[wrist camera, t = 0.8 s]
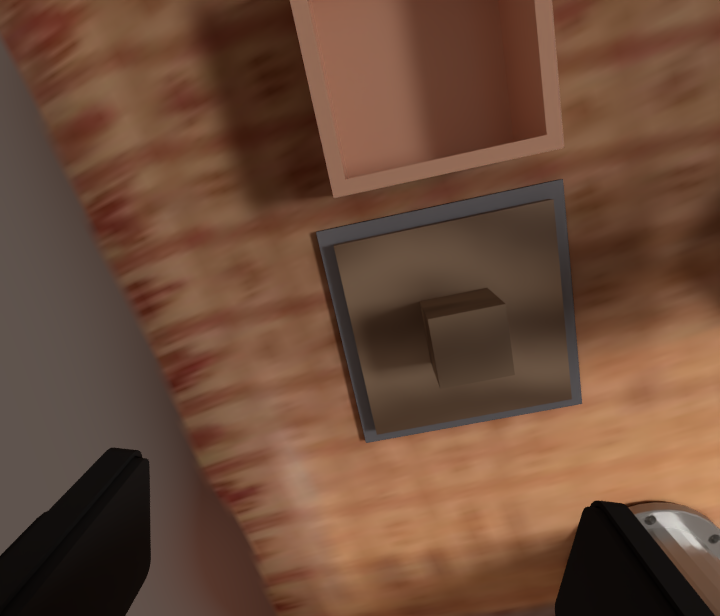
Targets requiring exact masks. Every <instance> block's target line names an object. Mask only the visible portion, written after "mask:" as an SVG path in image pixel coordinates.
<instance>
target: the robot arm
mask: <svg viewBox="0 0 720 616" xmlns="http://www.w3.org/2000/svg"><path fill="white" fill-rule="evenodd" d="M150 550H151V548H150V475H149V461H148V459H145V458H142V454H141V452H140V451H138V450H129V449H120V448H110V449H108V450H107V451H106V452H105V453H104V454H103V455H102V456H101V457H100V458H99V459H98V460H97V461H96V462H95V463H94V464H93V465H92V466H91V467H90V468H89V470H88V471H86V473H85V474H84V475H83V476H82V477H81V478H80V479H79V480H78V481H77V482H76V483H75V484H74V485H73V486H72V487H71V488H70V489H69V490H68V491H67V492H66V493H65V494H64V495H63V496H62V497H61V498H60V499H59V500H58V501H57V502H56V503H55V504H54V505H53V507H52V508H51V509H50V510H49V511H47V512H45V513H43V514H42V515H41V516H39V517H38V518H37V519H36V520H35V521H34V522H33V523H32V524H31V525H30V526H29V527H28V528H27V529H26V530H25V531H24V532H23V533H22V534H21V535H20V536H19V537H18V538H17V539H16V540H15V541H14V542H13V543H12V544H11V545H10V547H9V548H7V549H6V550H5V552H4V553H3V554H2V555H1V556H0V616H125V615H126V613H127V612H128V610H129V608H130V606H131V604H132V603H133V601H134V599H135V597H136V596H137V594H138V592H139V590H140V588H141V587H142V585H143V583H144V581H145V579H146V577H147V574H148V571H149V567H150V560H151V551H150ZM555 615H556V616H720V529H719V528H718V527H717V526H716V525H715V524H714V523H713V522H712V521H710V520H709V519H708V518H707V517H706V516H704V515H703V514H701V513H700V512H698V511H696V510H694V509H691V508H689V507H686V506H683V505H678V504H673V503H659V502H653V503H645V504H638V505H635V506H631V507H627V506H626V505H625V504H622V503H615V502H606V501H594V502H593V503H592V504H591V506H590V507H586V508H584V510H583V512H582V515H581V519H580V522H579V525H578V529H577V532H576V535H575V539H574V542H573V546H572V549H571V552H570V556H569V559H568V562H567V566H566V569H565V572H564V576H563V579H562V582H561V586H560V589H559V593H558V596H557V599H556V603H555Z"/></svg>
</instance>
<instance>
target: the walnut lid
mask: <svg viewBox="0 0 720 616" xmlns="http://www.w3.org/2000/svg"><path fill="white" fill-rule="evenodd" d="M334 250H335V254H336V258H337V263H338V267H339V272H340V276H341V280H342V285H343V289H344V293H345V298H346V302H347V307H348V311H349V315H350V320H351V324H352V328H353V333H354V337H355V341H356V346H357V350H358V355H359V359H360V363H361V368H362V372H363V376H364V381H365V385H366V389H367V394H368V398H369V403H370V407H371V411H372V416H373V420H374V424H375V429H376V433H377V435H379V434H384V433H390V432H395V431H401V430H406V429H412V428H417V427H423V426H428V425H434V424H439V423H445V422H450V421H456V420H461V419H467V418H472V417H478V416H483V415H488V414H494V413H499V412H505V411H510V410H516V409H521V408H527V407H532V406H538V405H543V404H549V403H554V402H560V401H565V400H571V399H572V395H571V384H570V373H569V362H568V351H567V340H566V329H565V319H564V308H563V297H562V286H561V275H560V264H559V253H558V242H557V232H556V221H555V210H554V199H545V200H540V201H535V202H531V203H526V204H521V205H517V206H512V207H507V208H502V209H498V210H493V211H488V212H484V213H479V214H474V215H469V216H465V217H460V218H455V219H451V220H446V221H441V222H436V223H432V224H427V225H422V226H418V227H413V228H408V229H404V230H399V231H394V232H389V233H385V234H380V235H375V236H371V237H366V238H361V239H356V240H352V241H347V242H342V243H338V244H334Z"/></svg>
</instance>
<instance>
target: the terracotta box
mask: <svg viewBox="0 0 720 616" xmlns="http://www.w3.org/2000/svg"><path fill="white" fill-rule="evenodd" d="M290 4H291V8H292V13H293V17H294V22H295V26H296V31H297V35H298V40H299V44H300V49H301V53H302V58H303V62H304V67H305V71H306V76H307V80H308V85H309V89H310V94H311V98H312V103H313V107H314V112H315V116H316V121H317V125H318V130H319V134H320V139H321V143H322V148H323V152H324V157H325V161H326V166H327V170H328V175H329V179H330V184H331V188H332V193H333V197H334V198H337V197H342V196H346V195H351V194H356V193H360V192H365V191H369V190H374V189H378V188H383V187H388V186H392V185H397V184H401V183H406V182H410V181H415V180H419V179H424V178H429V177H433V176H438V175H442V174H447V173H451V172H456V171H461V170H465V169H470V168H474V167H479V166H483V165H488V164H493V163H497V162H502V161H506V160H511V159H515V158H520V157H524V156H529V155H534V154H538V153H543V152H547V151H552V150H556V149H561V148H564V139H563V127H562V115H561V103H560V91H559V79H558V67H557V55H556V43H555V31H554V19H553V7H552V0H290Z"/></svg>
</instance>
